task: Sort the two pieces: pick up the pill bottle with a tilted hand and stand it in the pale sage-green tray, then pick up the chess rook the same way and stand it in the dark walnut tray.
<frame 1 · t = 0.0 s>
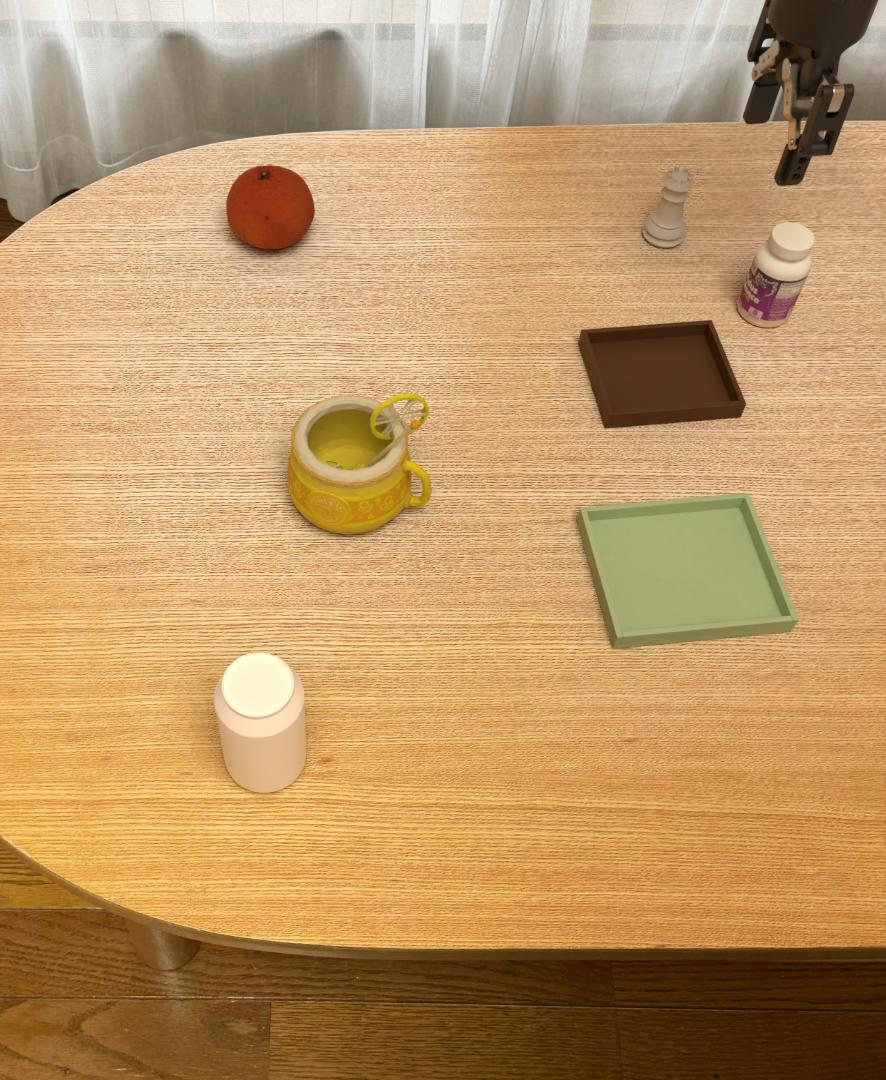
hand: (770, 151, 101), 20 cm above the table, tool pointing down, fingers open, 8 cm apart
walnut tray: (657, 379, 112), on the table
rook chess piece: (662, 237, 124), on the table
pill bottle: (761, 312, 118), on the table
green tray: (680, 574, 99), on the table
fruit: (272, 238, 123), on the table
mug: (359, 498, 103), on the table
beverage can: (266, 760, 89), on the table
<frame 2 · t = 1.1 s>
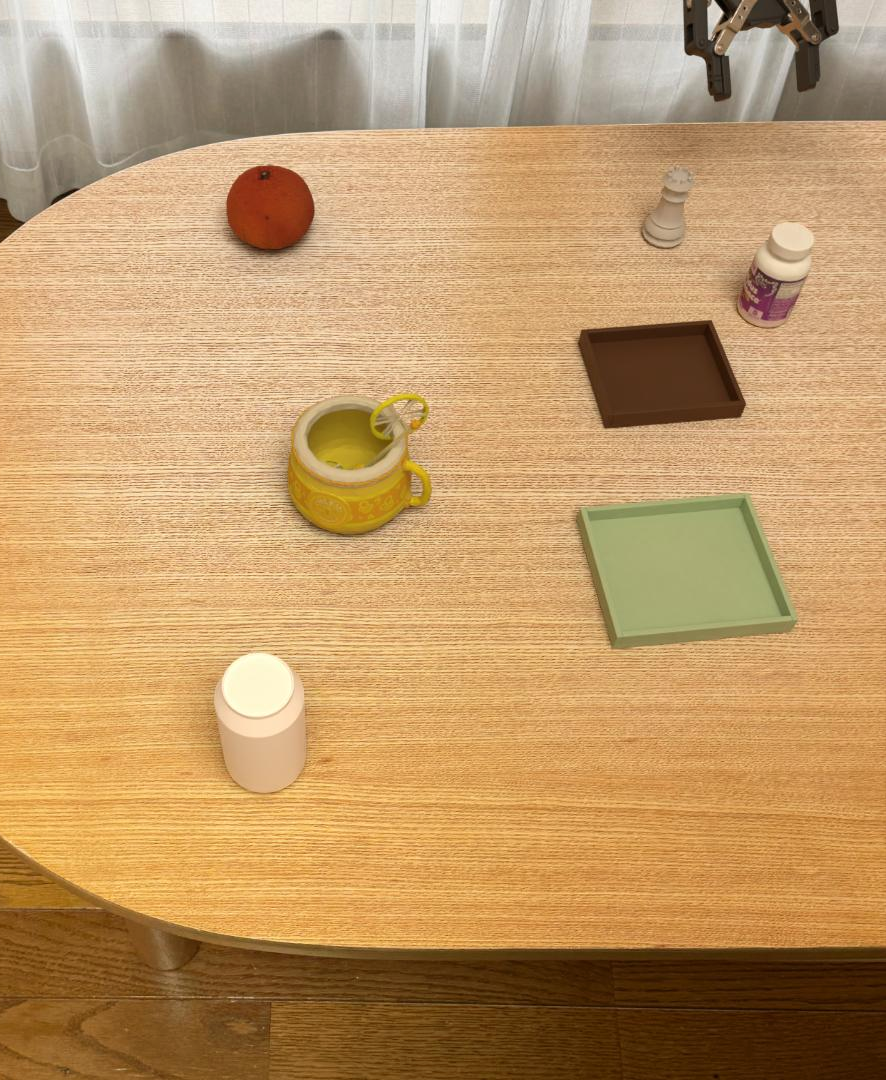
hand: (765, 95, 110), 17 cm above the table, tool tilted 45°, fingers open, 8 cm apart
nothing on the table moved.
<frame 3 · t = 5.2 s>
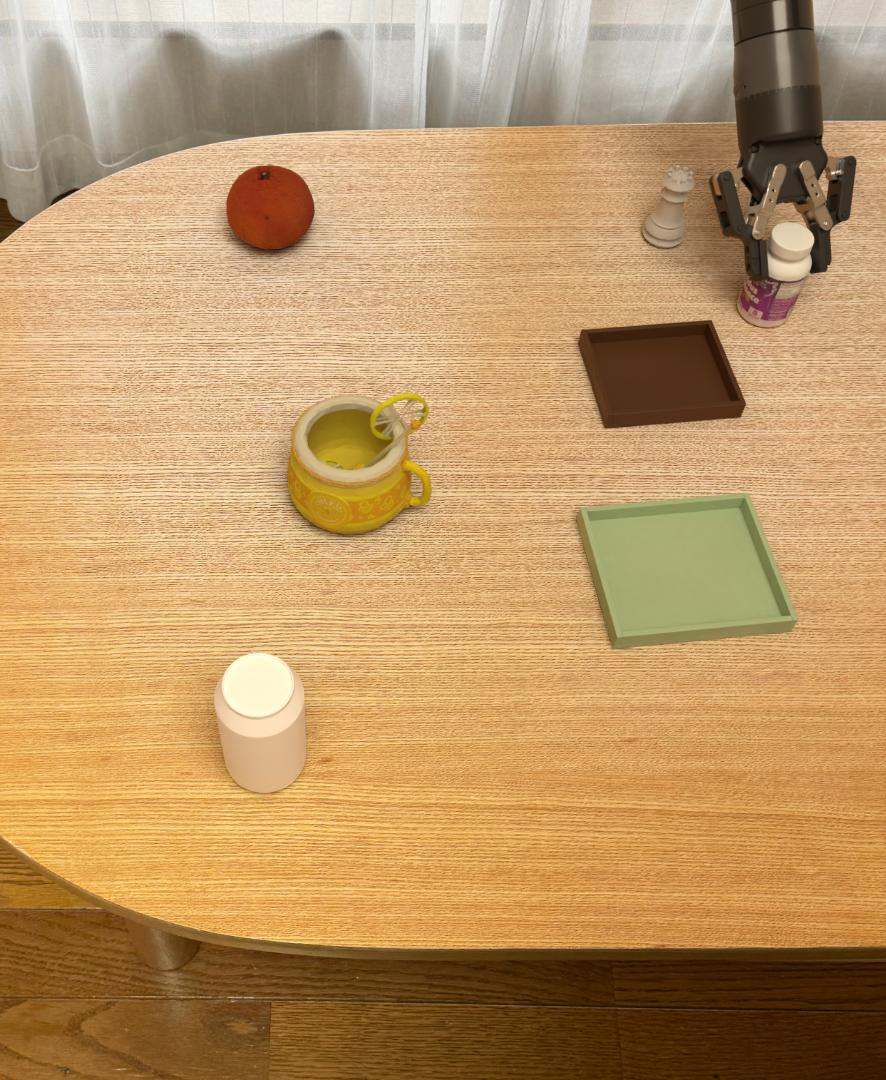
hand: (789, 276, 111), 6 cm above the table, tool tilted 45°, fingers closed on pill bottle, 5 cm apart
pill bottle: (761, 312, 118), on the table, touching gripper
everything else where it was.
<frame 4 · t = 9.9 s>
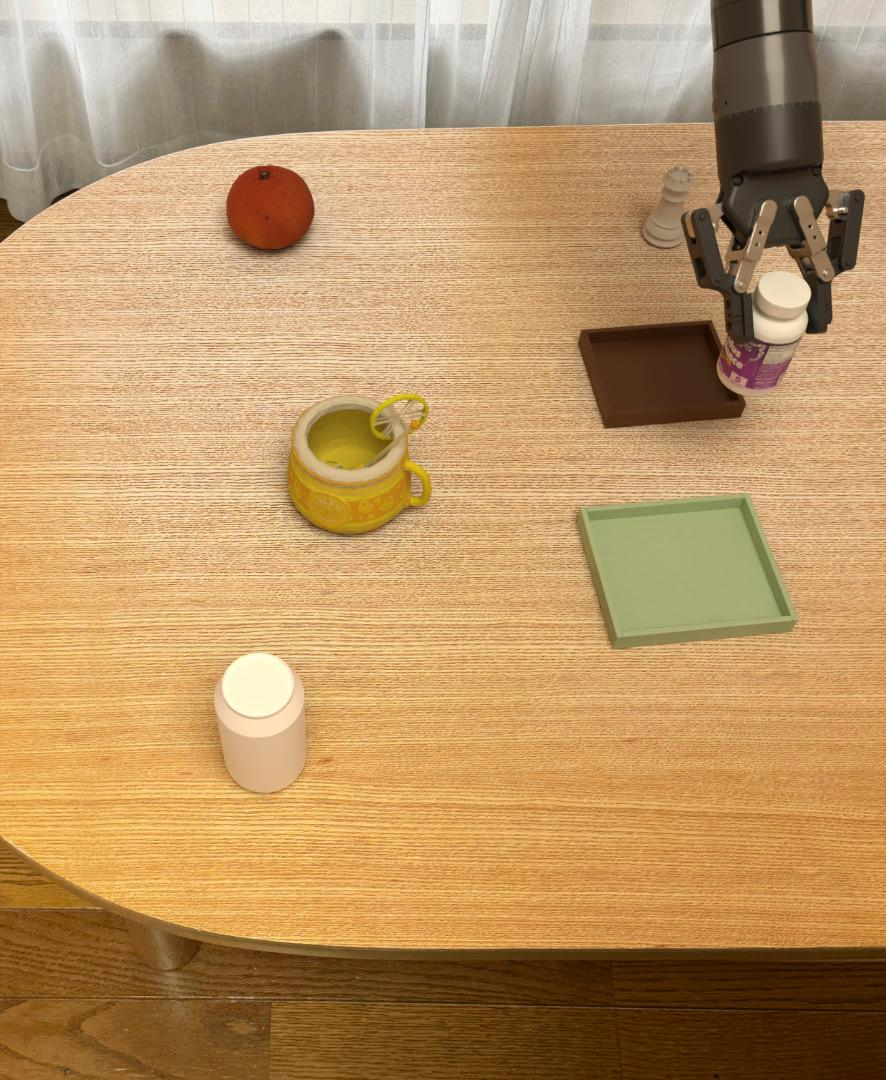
hand: (780, 337, 90), 18 cm above the table, tool tilted 45°, fingers closed on pill bottle, 5 cm apart
pill bottle: (746, 377, 96), point 12 cm above the table, touching gripper
everything else where it was.
when the fingers open (7 cm above the table, at t = 15.1 s): pill bottle stays where it is, resting on green tray.
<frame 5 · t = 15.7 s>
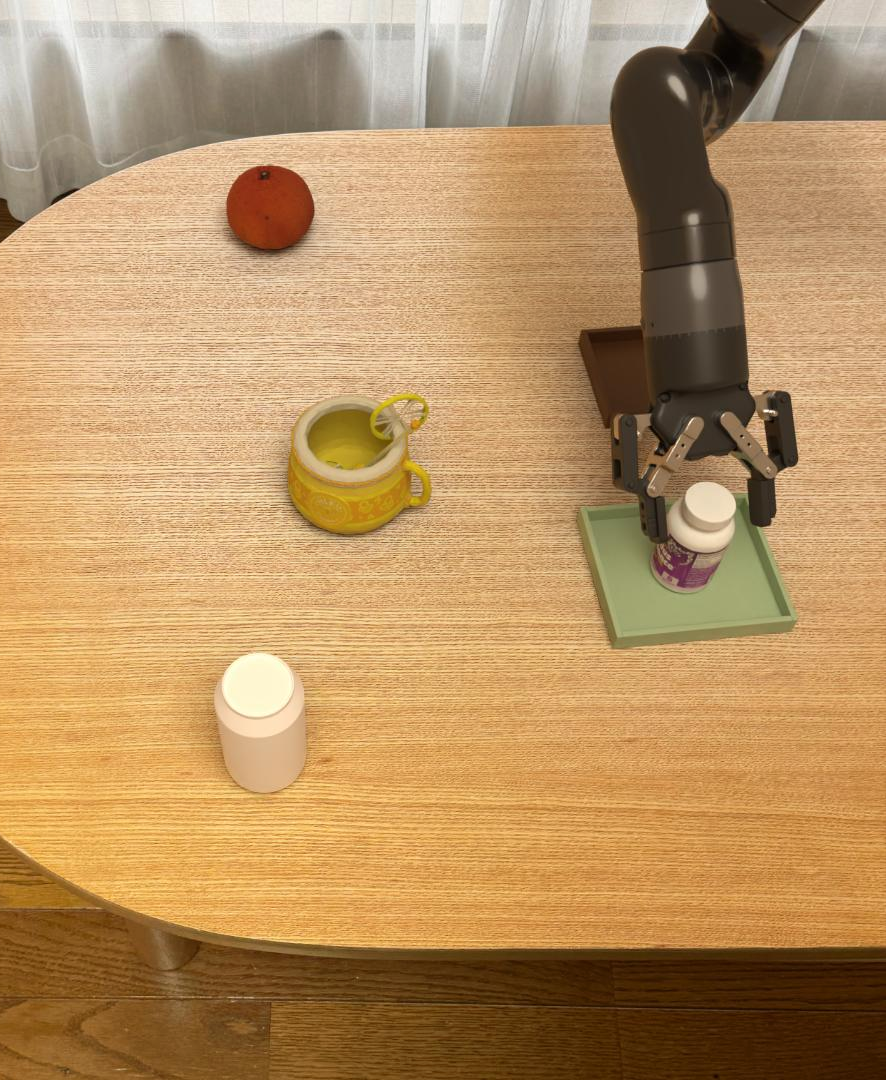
hand: (710, 533, 92), 8 cm above the table, tool tilted 45°, fingers open, 8 cm apart
pill bottle: (679, 571, 99), resting on green tray
everything else where it was.
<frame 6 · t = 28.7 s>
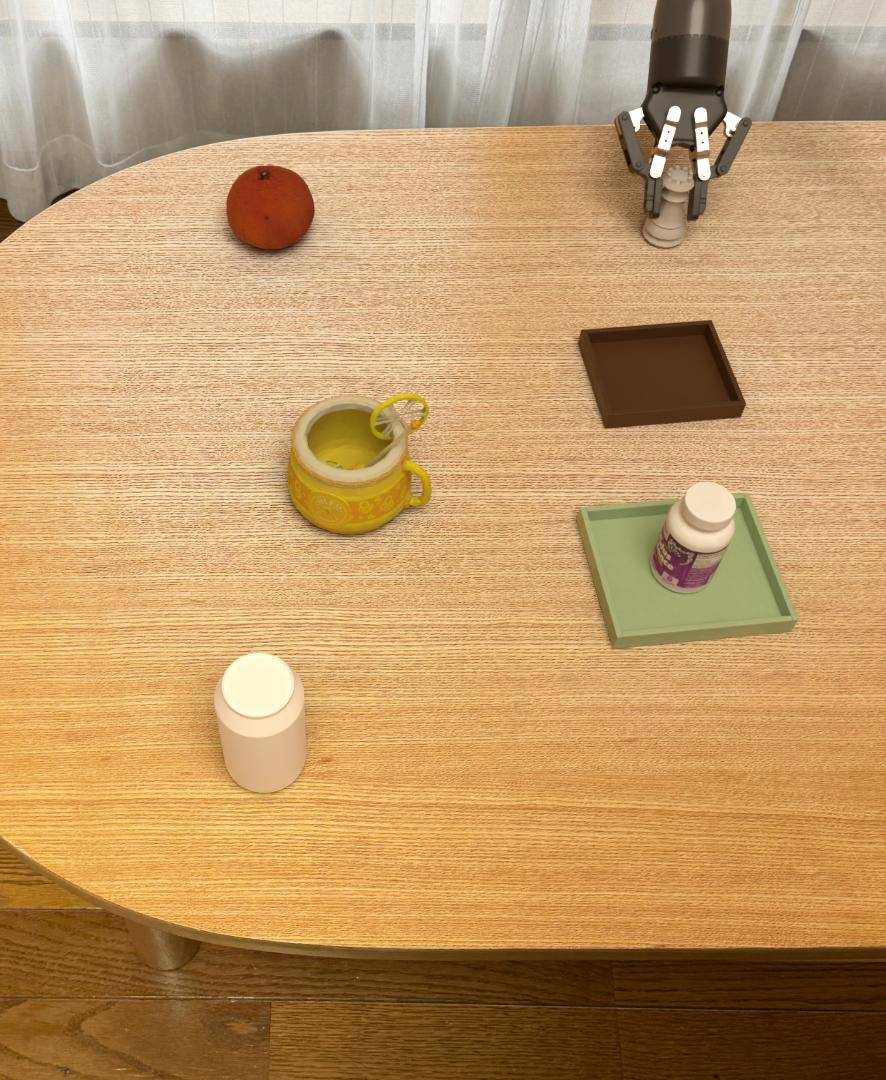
hand: (673, 218, 119), 4 cm above the table, tool tilted 45°, fingers closed on rook chess piece, 3 cm apart
rook chess piece: (662, 237, 124), on the table, touching gripper
everything else where it was.
when the fingers open (4 cm above the table, at t = 37.3 s): rook chess piece stays where it is, resting on walnut tray.
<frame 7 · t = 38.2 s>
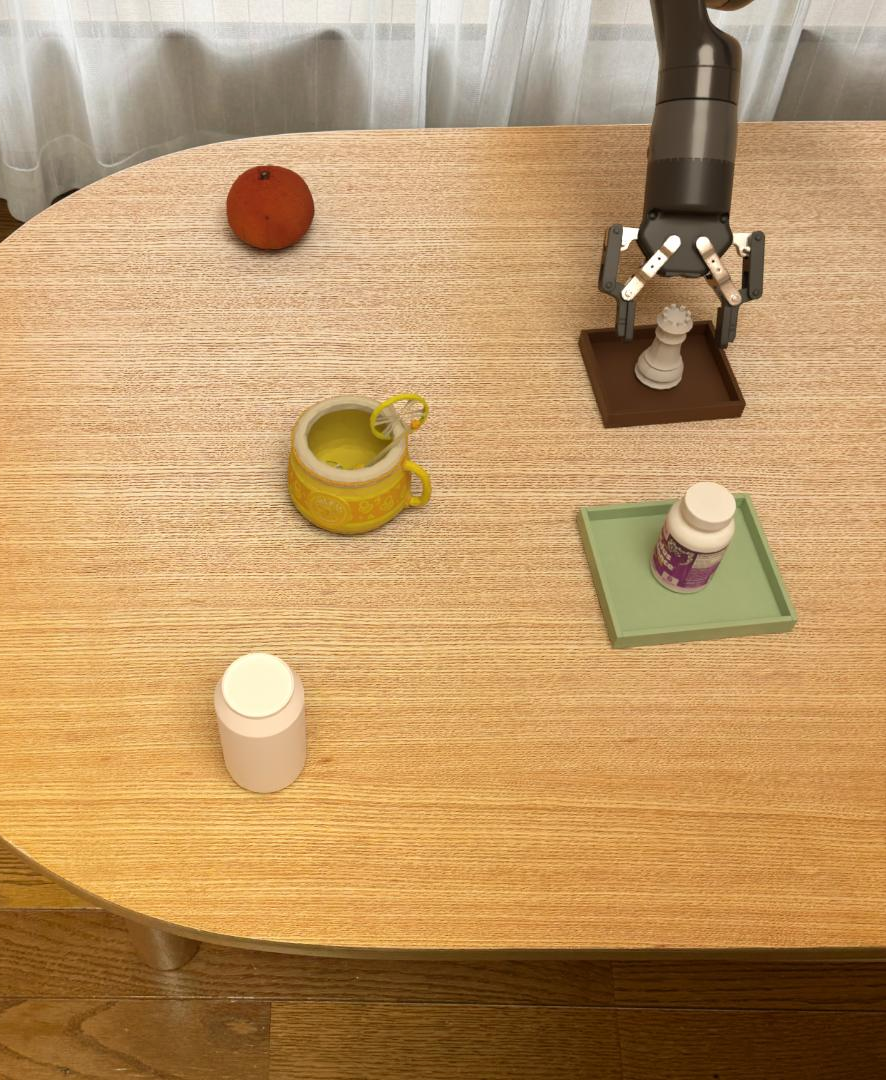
hand: (673, 346, 106), 6 cm above the table, tool tilted 45°, fingers open, 8 cm apart
rook chess piece: (656, 376, 112), resting on walnut tray
everything else where it was.
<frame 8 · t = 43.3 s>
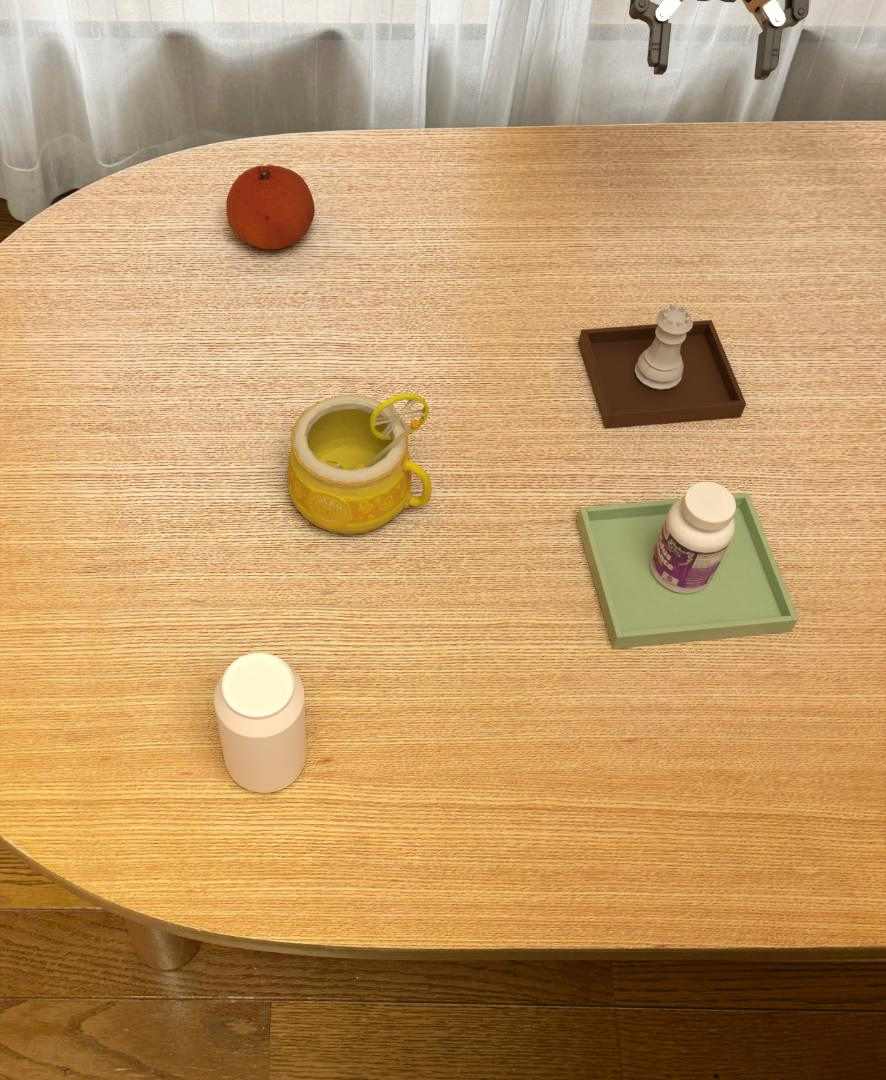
hand: (711, 75, 99), 25 cm above the table, tool tilted 45°, fingers open, 8 cm apart
nothing on the table moved.
at the end: pill bottle inside the target area in the green tray (0.2 cm from its centre), point 0.2 cm above the green tray's base; rook chess piece inside the target area in the walnut tray (0.2 cm from its centre), point 0.2 cm above the walnut tray's base; pill bottle tilted 0° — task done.
